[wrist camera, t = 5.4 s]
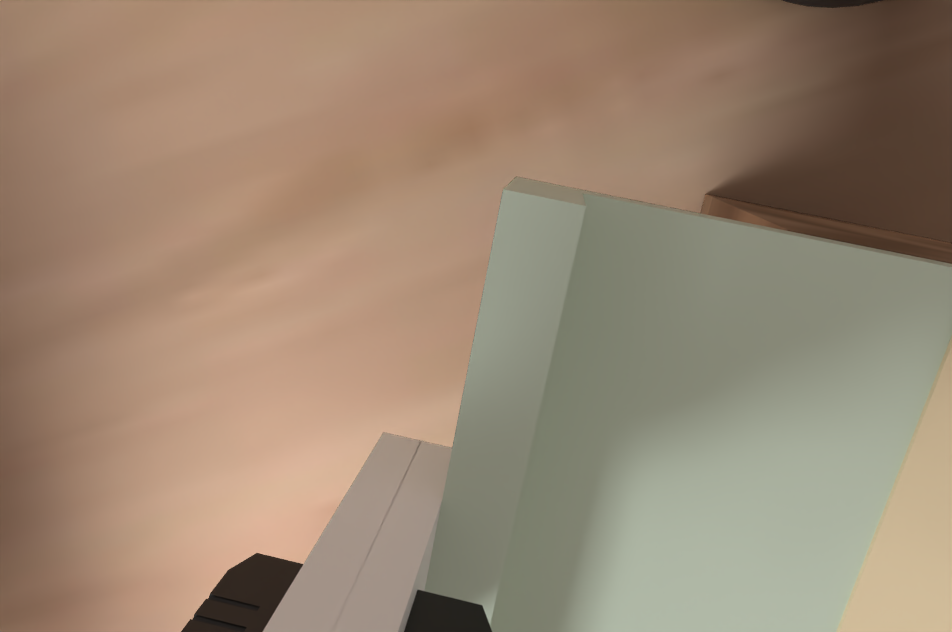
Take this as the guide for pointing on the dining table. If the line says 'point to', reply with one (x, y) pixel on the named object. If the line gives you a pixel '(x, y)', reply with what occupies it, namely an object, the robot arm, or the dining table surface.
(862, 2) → the pen holder
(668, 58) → the dining table surface
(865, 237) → the crate
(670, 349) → the lid
